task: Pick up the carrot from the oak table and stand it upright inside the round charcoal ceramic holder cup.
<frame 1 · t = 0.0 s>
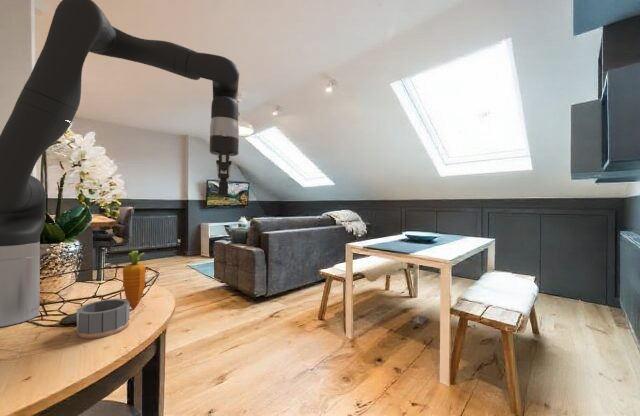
hand: (223, 195, 77), 29 cm above the table, tool pointing down, fingers open, 8 cm apart
holder cup: (104, 329, 59), on the table
carrot: (133, 309, 71), on the table
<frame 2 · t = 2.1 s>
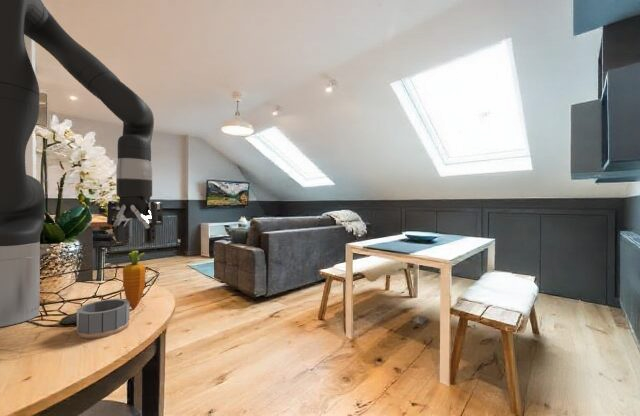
hand: (135, 242, 70), 17 cm above the table, tool pointing down, fingers open, 8 cm apart
nothing on the table moved.
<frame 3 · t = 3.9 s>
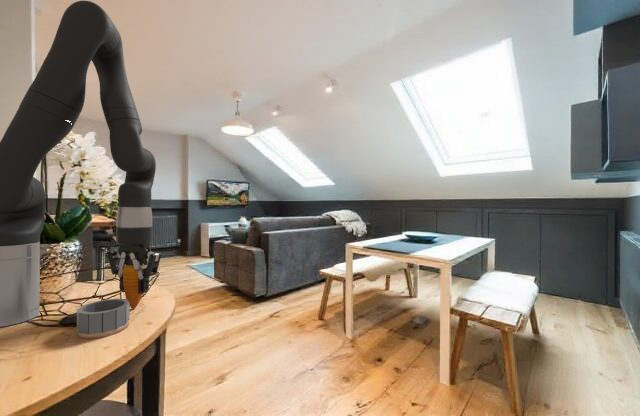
hand: (133, 291, 71), 4 cm above the table, tool pointing down, fingers closed on carrot, 4 cm apart
carrot: (133, 309, 71), on the table, touching gripper
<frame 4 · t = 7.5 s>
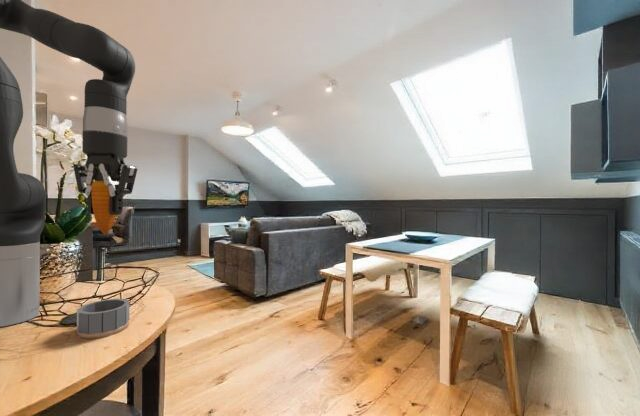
hand: (104, 213, 59), 25 cm above the table, tool pointing down, fingers closed on carrot, 4 cm apart
carrot: (105, 235, 59), point 20 cm above the table, touching gripper
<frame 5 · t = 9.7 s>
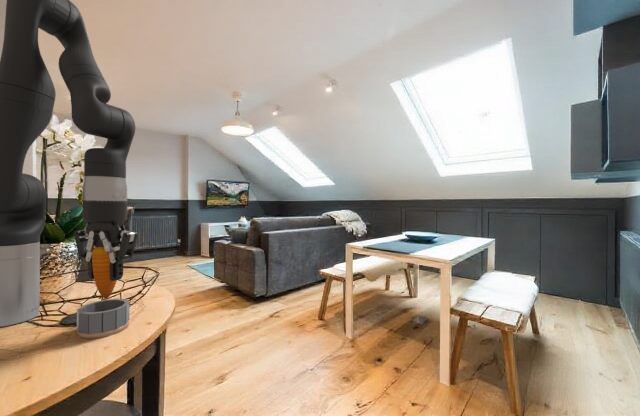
hand: (105, 278, 59), 11 cm above the table, tool pointing down, fingers closed on carrot, 4 cm apart
carrot: (106, 299, 60), point 6 cm above the table, touching gripper
when the fingers open (7 cm above the table, at t = 11.4 s): carrot drops 2 cm, resting on holder cup.
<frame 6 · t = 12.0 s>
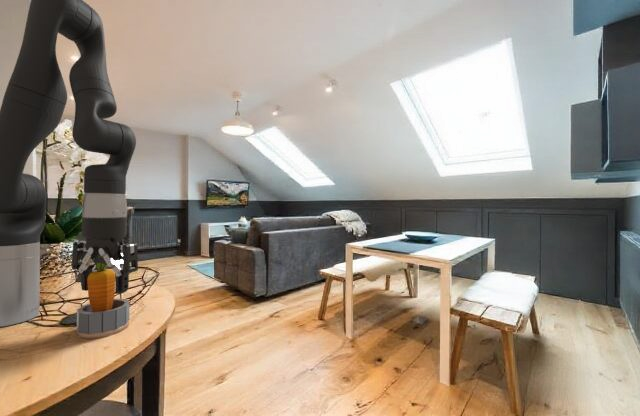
hand: (104, 291, 59), 8 cm above the table, tool pointing down, fingers open, 8 cm apart
carrot: (103, 324, 60), point 1 cm above the table, touching holder cup
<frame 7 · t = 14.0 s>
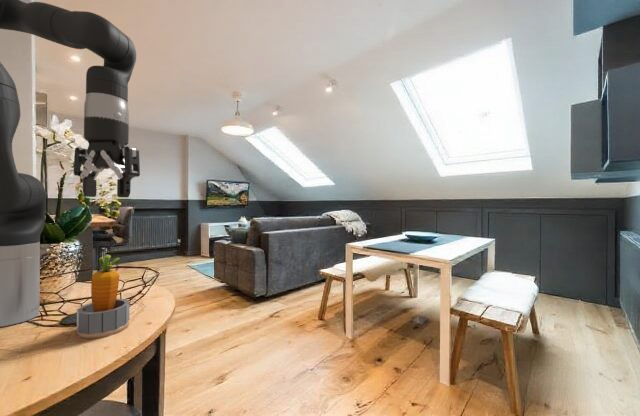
hand: (106, 197, 59), 28 cm above the table, tool pointing down, fingers open, 8 cm apart
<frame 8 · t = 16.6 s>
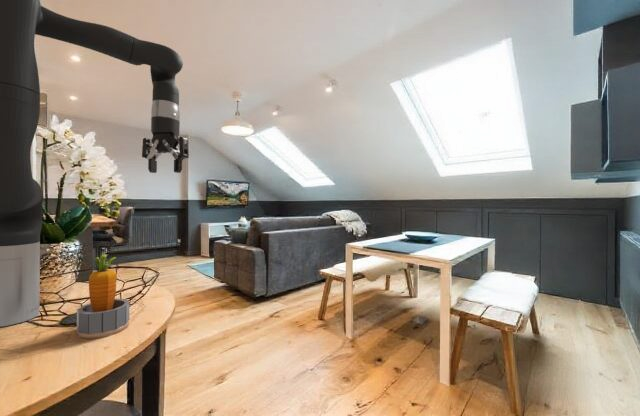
hand: (165, 172, 85), 36 cm above the table, tool pointing down, fingers open, 8 cm apart
at the end: carrot 0.4 cm off-centre on the holder cup, point 0.8 cm above the holder cup's base; carrot tilted 2°; the gripper is holding nothing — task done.
